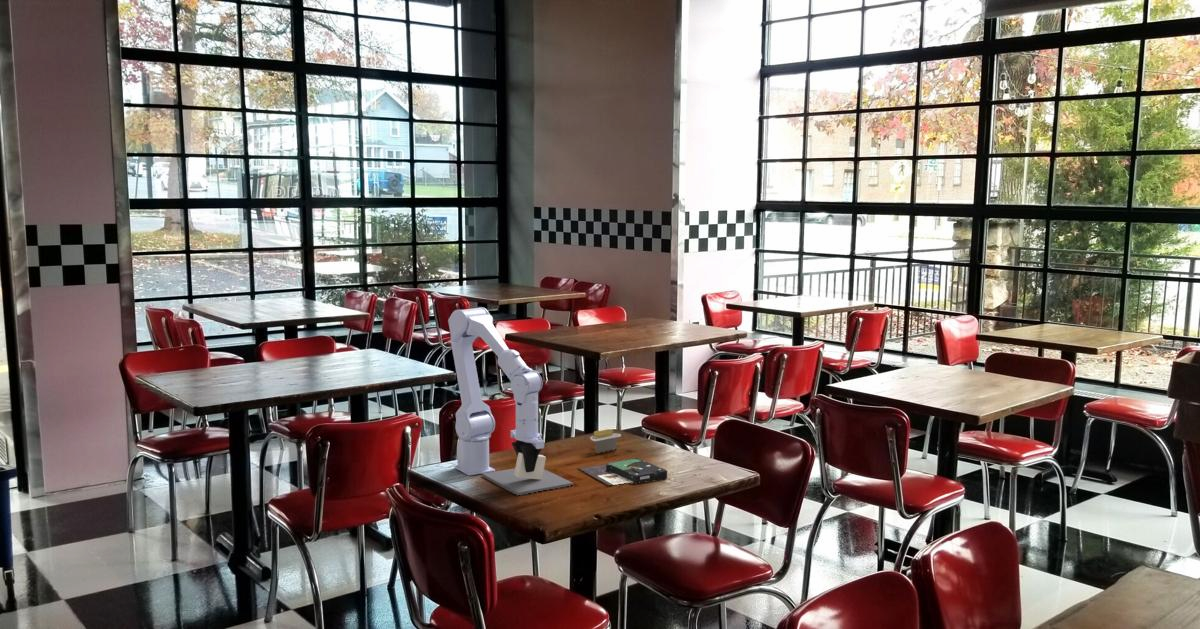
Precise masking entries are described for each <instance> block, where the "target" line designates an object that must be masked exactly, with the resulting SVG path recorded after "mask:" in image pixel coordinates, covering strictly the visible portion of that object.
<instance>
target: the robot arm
mask: <svg viewBox="0 0 1200 629" xmlns="http://www.w3.org/2000/svg"><path fill="white" fill-rule="evenodd" d="M447 323H448V327H449V335H450V343H451V344H450V345H451V350H452V356H453V360H454V361H453V362H454V367H455V373H456V377H457V384H458V390H459V395H460V400H461V406H460V407H459V408H458V410H456V412H455V419H456V420H455V425H454V426H455V431H456V434H457V437H459V439H458V442H457V445H456V446H457V447H456V454H457V455H456V457H457V459H456V460H457V465H454V469H456V470H458V471H459V472H461V473H463V474H465V475H467V476H475V475H481V474H483V473H489V472H495V471H496V469H495V468H493V467H491V466H490V438H491V437H492V433H493V432H494V431H495V428H496V420H495V418H494V416H493V414H492V411H491V407H490V406H489V405H488V404H487V403H486V402H484V400H483V399H482V393H481V388H480V383H479V377H478V371H477V365H476V359H475V355H474V347H473V343H474V342H475V340H476V339H477V338H478V337H479V338H481V339H482V340H483V341H484V342H485V344H486V345H487V346H488V347H489V348H490V349H491V351H492V352H493V353H494V354H495V355H496V356H497V365H498V366H499V368H500V369H501V370H502V371H503V373H504V374H505V375H506V376H507V379H509V381H510V382H511V383H509V384H510V389H511V392H512V393H513V400H514V403H515V429H512V430H510V438H512V439H515V440H516V441H513V442H511V446H512V448H513V450H514V451H515V454H516V457H518V452H519V453H523V457H524V463H525V470H526V472H533V471H534V469H535V465H536V461H537V458H538V455H540V453H541V451H542V450H543V449H545V440H543V438H542V437H543V434H542V433H540V432H539V393H540V391H541V390H542V389H543V381H544V380H543V378H542V376H541V375H540V372H539V371H537V370H533V369H532V368H530V367H529V366H528V365H527V363H526V362H525V361H524V360H523V359H522V357H521V356H520V352H518V351H517V350H515V349H510V348H509V346H507V344H506V342H505V341H504V340H503V337H502V336H501V335H500V333H499V332H498V330H497V328H496V327H495V326H494V318H493V316H492V315H491V313H490V312H489V310H488V309H487V308H485V307H484V306H483V307H482V306H478V307H475V308H468V309H466V308H465V309H455V310H453V311H452V313H451V315H450V317H448V320H447Z"/></svg>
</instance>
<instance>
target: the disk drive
mask: <svg viewBox="0 0 1200 629" xmlns="http://www.w3.org/2000/svg"><path fill="white" fill-rule="evenodd" d="M607 464H608V465H606V470H609V471H611V472H613V473H615V474H617V475H620V476H622V477H624V478H626V479H629V480H630V481H633V482H634V483H639V482H645V481H651V482H654V481H653V480H657V481H661V480H666V479H668V470H666V469H664V468H663V467H660V466H658V465H654V464H652V463H650V462H648V461H645V460H643V459H640V458H637V457H635V458H630V459H629V458H628V459H621V460H619V461H614V462H613V461H612V462H607ZM634 483H633V484H634ZM645 483H646V482H645ZM639 484H640V483H639Z"/></svg>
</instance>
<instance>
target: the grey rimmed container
mask: <svg viewBox="0 0 1200 629" xmlns="http://www.w3.org/2000/svg"><path fill="white" fill-rule="evenodd" d="M619 437H622V434H621V433H617V432H614V430H613V429H611V430H610V428H606V429H601V430H596V431H594V432H593V435H591V436H590V437H589V439H590V440H591V441H593V442H594V443H595V444H594V446H595V448H594V453H598V452H603V451H608V452H610V451H609V450H613V451H616V450H615V449H617V448H618V447H617V443H618V441H617V440H618V439H617V438H619ZM617 450H618V449H617ZM603 453H604V452H603ZM598 454H599V453H598Z"/></svg>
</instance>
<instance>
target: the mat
mask: <svg viewBox="0 0 1200 629" xmlns="http://www.w3.org/2000/svg"><path fill="white" fill-rule="evenodd" d="M514 472H515V467H514V468H510V469H509V468H508V469H503V470H502V469H501V470H495V471H494V472H488V473H482V478H484V479H486V480H488V481H489V482H491V483H493V484H495V485H497V486H498V487H500V488H503V489H504V490H506V491H508V492H510V493H512V494H514V495H515V494H516V496H517V497H519V496H518V495H520V496H525V495H529V494H528V493H531V494H534V492H536V493H539V492H538V491H542V492H544V491H543V490H547V491H550V490H549V489H553V490H556V489H555V488H558V489H561V488H560V487H564V488H567V487H566V486H569V487H572V486H571V485H573V486H574V482H572V481H570V480H568V479H566V478H563V477H562V476H560V475H557V474H556V473H553V472H551V471H549V470H547V469H545V468H544V470H543V475H542V480H540V479H529V478H518V477H516V476H514ZM524 494H525V495H524Z"/></svg>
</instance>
